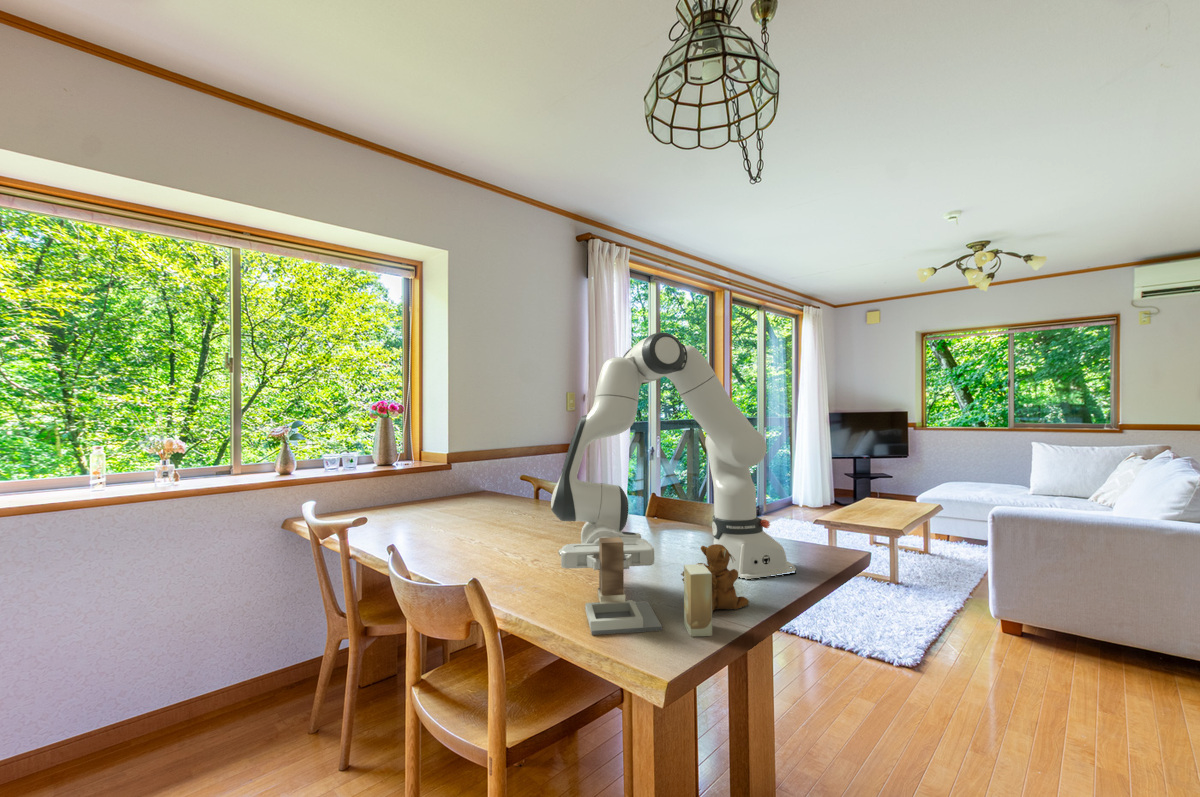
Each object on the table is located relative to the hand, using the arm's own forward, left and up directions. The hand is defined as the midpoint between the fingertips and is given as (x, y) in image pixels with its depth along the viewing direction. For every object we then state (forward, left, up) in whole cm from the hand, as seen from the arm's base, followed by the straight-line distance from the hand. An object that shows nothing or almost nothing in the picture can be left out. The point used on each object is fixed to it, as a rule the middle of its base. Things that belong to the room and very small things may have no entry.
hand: (611, 565), depth 110 cm
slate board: (-2, -3, -12) cm, 13 cm away
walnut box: (0, -1, -7) cm, 7 cm away
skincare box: (-16, +5, -12) cm, 21 cm away
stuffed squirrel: (-24, -7, -12) cm, 27 cm away
